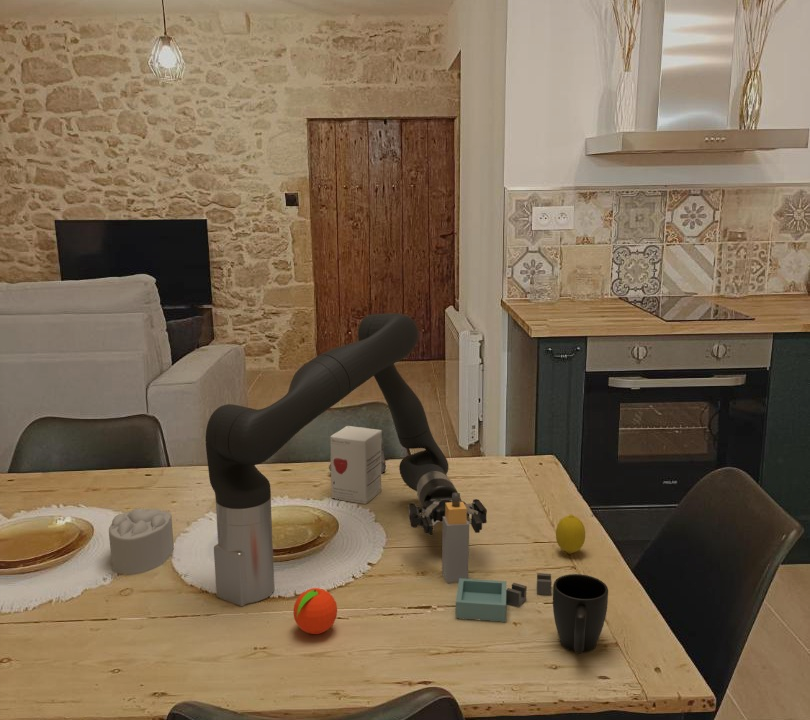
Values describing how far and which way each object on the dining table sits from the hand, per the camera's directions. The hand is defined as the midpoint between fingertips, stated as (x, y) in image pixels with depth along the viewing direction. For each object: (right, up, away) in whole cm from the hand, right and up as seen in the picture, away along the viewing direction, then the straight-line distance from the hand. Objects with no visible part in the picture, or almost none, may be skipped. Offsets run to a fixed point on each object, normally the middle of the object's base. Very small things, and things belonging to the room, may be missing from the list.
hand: (454, 529), depth 144 cm
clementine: (-23, -13, -16) cm, 31 cm away
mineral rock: (-20, +2, +54) cm, 58 cm away
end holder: (+4, -11, -9) cm, 15 cm away
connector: (0, -9, +1) cm, 9 cm away
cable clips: (+12, -10, -5) cm, 17 cm away
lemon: (+23, -7, +10) cm, 26 cm away
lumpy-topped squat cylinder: (-59, -8, +9) cm, 60 cm away
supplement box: (-20, -1, +40) cm, 44 cm away
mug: (+17, -14, -21) cm, 31 cm away
